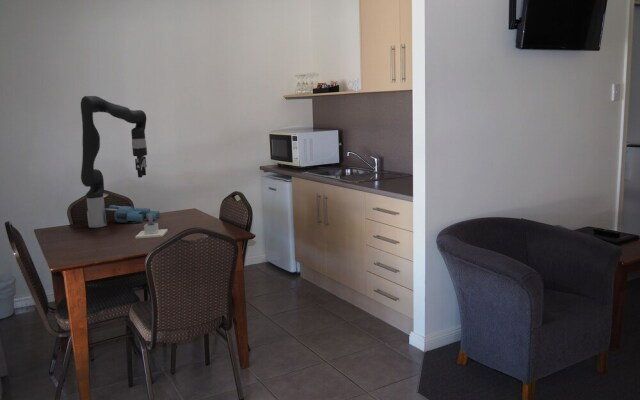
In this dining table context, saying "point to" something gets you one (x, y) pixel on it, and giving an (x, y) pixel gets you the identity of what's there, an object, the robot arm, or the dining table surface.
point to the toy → (132, 213)
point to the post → (158, 234)
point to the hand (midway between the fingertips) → (142, 176)
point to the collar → (151, 228)
